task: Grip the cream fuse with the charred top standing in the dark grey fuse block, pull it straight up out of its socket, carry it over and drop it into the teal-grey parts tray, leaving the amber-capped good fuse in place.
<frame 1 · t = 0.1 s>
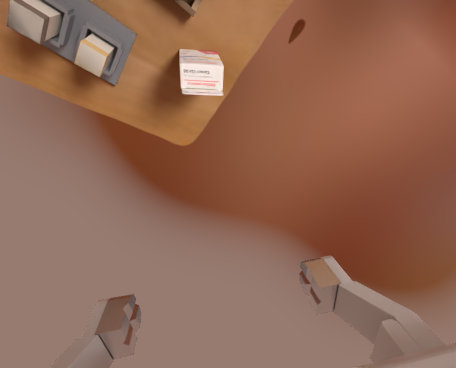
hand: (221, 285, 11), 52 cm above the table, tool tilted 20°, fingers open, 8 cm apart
blown fuse: (49, 14, 40), point 1 cm above the table, touching fuse block
fuse block: (79, 31, 43), on the table
good fuse: (102, 47, 44), point 1 cm above the table, touching fuse block
ink cartridge box: (198, 60, 50), on the table
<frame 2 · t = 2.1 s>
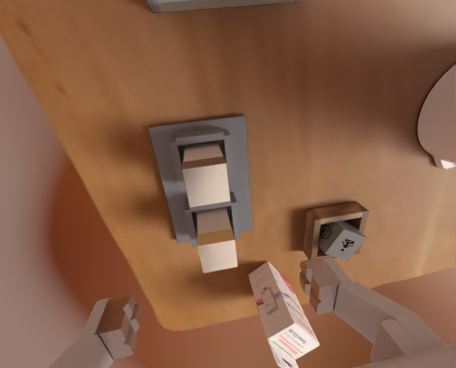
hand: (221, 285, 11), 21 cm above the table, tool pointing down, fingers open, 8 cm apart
dice corral: (328, 227, 38), on the table
blown fuse: (203, 156, 28), point 1 cm above the table, touching fuse block
fuse block: (207, 183, 31), on the table
good fuse: (212, 213, 32), point 1 cm above the table, touching fuse block
ink cartridge box: (269, 277, 42), on the table
dice cube: (327, 226, 39), resting in dice corral
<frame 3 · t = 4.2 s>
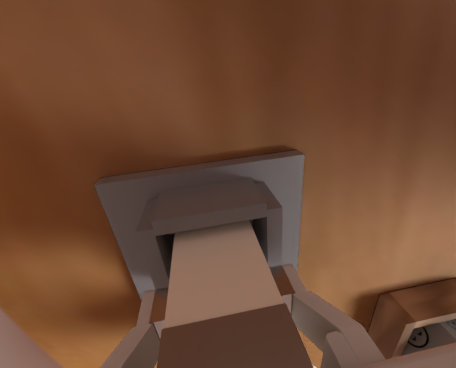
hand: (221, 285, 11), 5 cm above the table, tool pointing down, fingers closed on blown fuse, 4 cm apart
dice corral: (408, 313, 24), on the table
blown fuse: (213, 232, 14), point 1 cm above the table, touching fuse block, gripper
fuse block: (219, 269, 17), on the table
dice cube: (405, 310, 24), resting in dice corral
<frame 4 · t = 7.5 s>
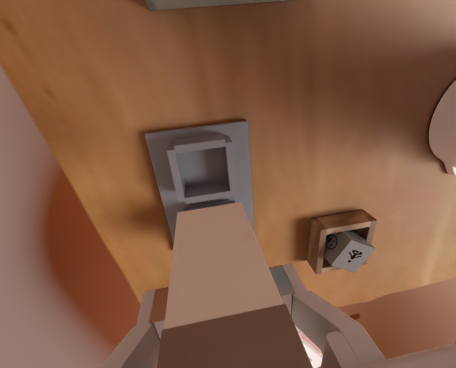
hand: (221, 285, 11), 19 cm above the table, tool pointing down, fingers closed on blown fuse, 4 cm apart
dice corral: (333, 236, 37), on the table
blown fuse: (214, 232, 14), point 15 cm above the table, touching gripper
fuse block: (207, 192, 30), on the table
ink cartridge box: (271, 287, 40), on the table
dice cube: (332, 235, 37), resting in dice corral
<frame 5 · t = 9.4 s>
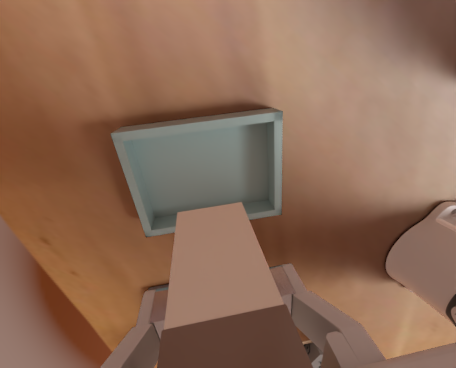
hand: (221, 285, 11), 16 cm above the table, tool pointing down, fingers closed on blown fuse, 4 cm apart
parts tray: (206, 169, 25), on the table
blown fuse: (214, 232, 14), point 12 cm above the table, touching gripper
dice cube: (309, 333, 43), resting in dice corral
when the fingers open (6 cm above the table, at t = 11.1 s): blown fuse drops 1 cm, resting on parts tray.
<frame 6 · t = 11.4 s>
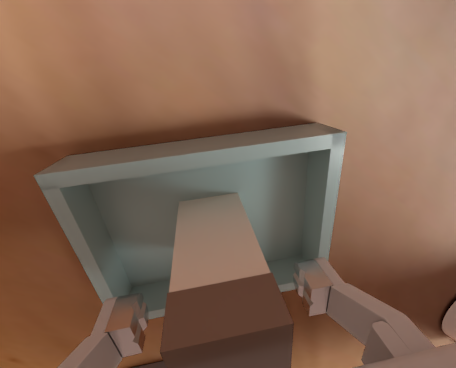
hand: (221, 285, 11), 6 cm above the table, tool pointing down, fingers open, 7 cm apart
parts tray: (211, 215, 16), on the table
blown fuse: (212, 221, 15), point 1 cm above the table, touching parts tray
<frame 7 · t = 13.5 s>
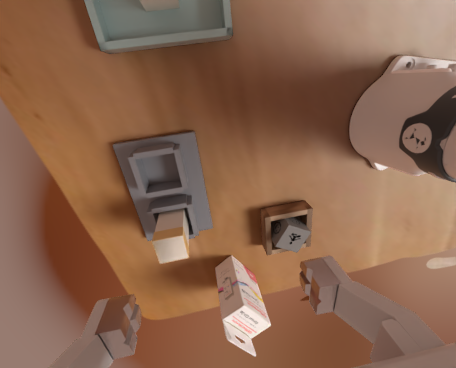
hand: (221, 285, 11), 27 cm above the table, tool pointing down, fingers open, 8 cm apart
dice corral: (283, 223, 44), on the table
fuse block: (169, 189, 37), on the table
good fuse: (175, 214, 38), point 1 cm above the table, touching fuse block
ink cartridge box: (235, 269, 47), on the table
dice cube: (282, 222, 44), resting in dice corral
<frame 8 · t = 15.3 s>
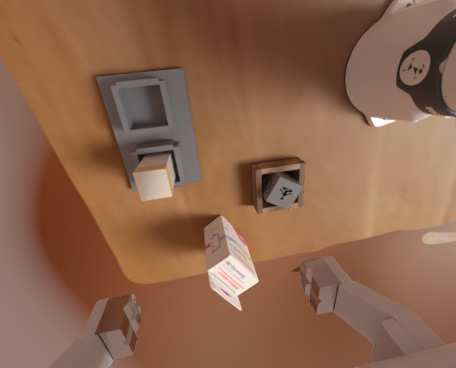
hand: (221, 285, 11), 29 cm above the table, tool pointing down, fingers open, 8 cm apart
dice corral: (275, 182, 42), on the table
fuse block: (156, 134, 35), on the table
good fuse: (162, 162, 36), point 1 cm above the table, touching fuse block
ink cartridge box: (224, 232, 46), on the table
dice cube: (274, 181, 42), resting in dice corral
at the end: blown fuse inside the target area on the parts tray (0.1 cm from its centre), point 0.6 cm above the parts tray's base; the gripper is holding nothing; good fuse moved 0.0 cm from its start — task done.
